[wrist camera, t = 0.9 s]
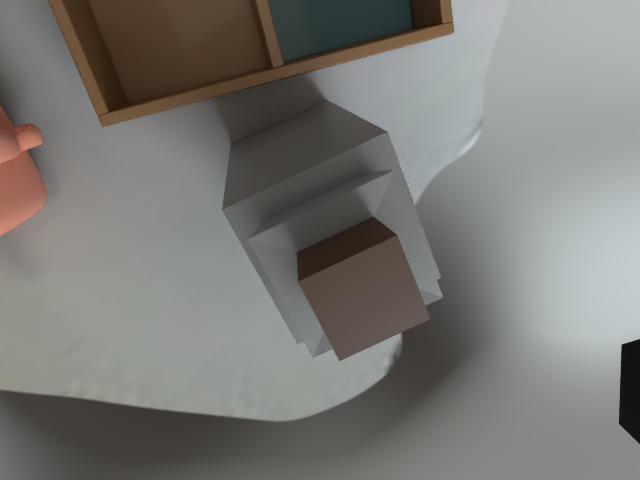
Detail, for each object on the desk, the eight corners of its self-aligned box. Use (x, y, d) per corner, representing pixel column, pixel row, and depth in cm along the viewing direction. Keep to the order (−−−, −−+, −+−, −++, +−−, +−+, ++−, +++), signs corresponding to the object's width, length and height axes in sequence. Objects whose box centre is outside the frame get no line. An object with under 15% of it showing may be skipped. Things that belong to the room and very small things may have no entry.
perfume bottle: (230, 145, 30) (215, 258, 13) (326, 99, 29) (433, 156, 13) (276, 233, 32) (312, 420, 16) (364, 192, 32) (493, 336, 16)
